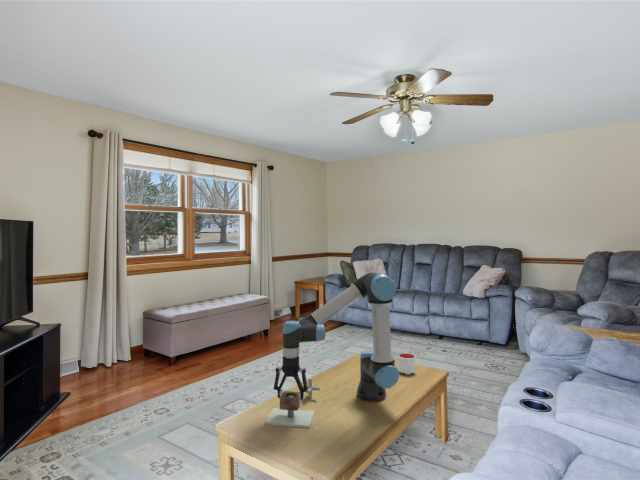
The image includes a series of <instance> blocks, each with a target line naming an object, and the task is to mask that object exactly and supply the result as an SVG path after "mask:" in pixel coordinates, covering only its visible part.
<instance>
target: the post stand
mask: <svg viewBox="0 0 640 480" xmlns="http://www.w3.org/2000/svg"><path fill="white" fill-rule="evenodd" d="M288 397H293V398H294V396H292V395H290V396H288ZM315 414H316V411H315V410H305V409H298V410H297V411H294V410H281V409H280V407H278V408H277V407H273V408H272V410H271V411H270V413H269V415H268V417H267V418H266V420H265V421H264V424H265V425H268V426H269V425H270V426H280V427H292V428H305V429H307V428H308V429H311V425H312V423H313V420H314V418H315Z"/></svg>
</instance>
